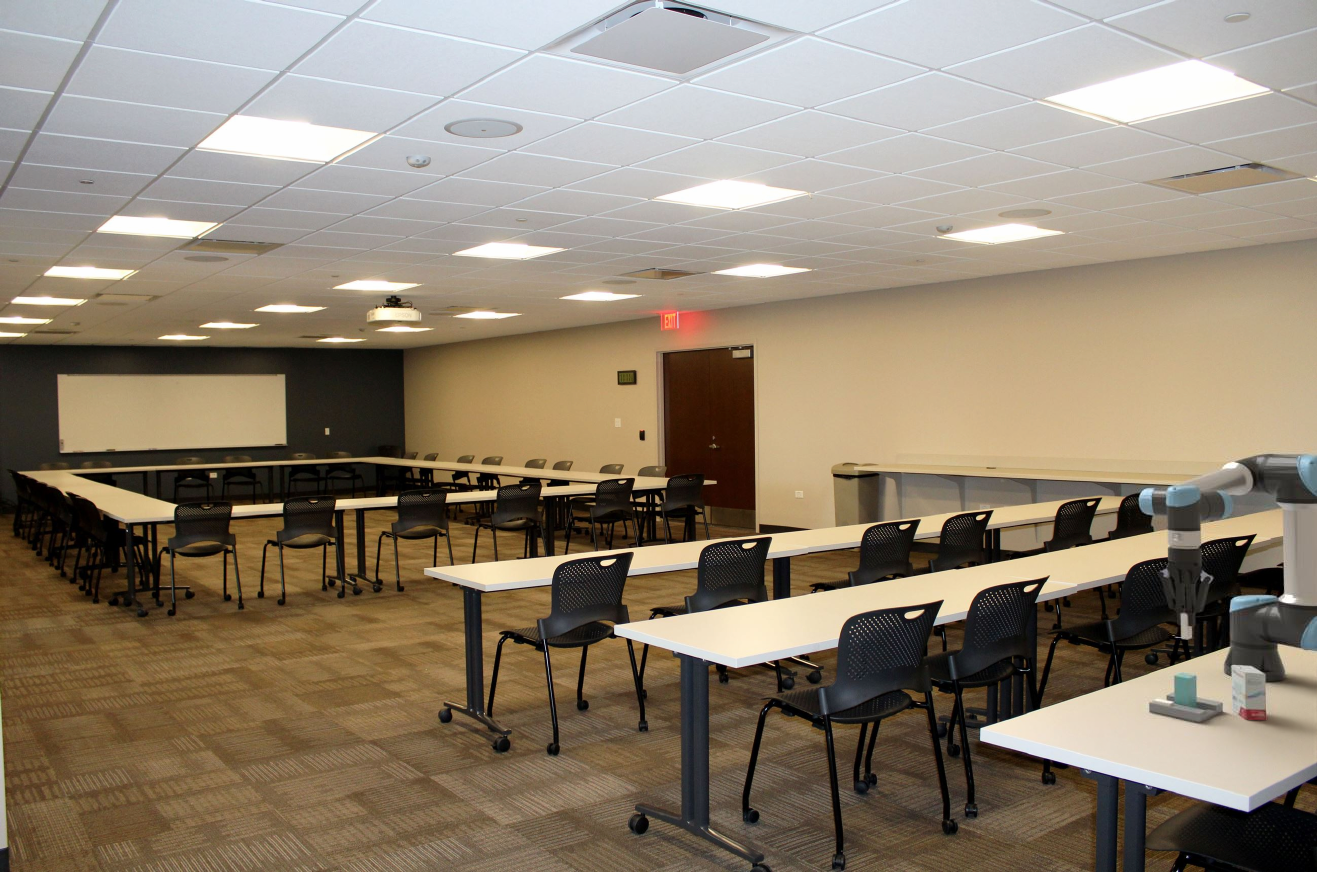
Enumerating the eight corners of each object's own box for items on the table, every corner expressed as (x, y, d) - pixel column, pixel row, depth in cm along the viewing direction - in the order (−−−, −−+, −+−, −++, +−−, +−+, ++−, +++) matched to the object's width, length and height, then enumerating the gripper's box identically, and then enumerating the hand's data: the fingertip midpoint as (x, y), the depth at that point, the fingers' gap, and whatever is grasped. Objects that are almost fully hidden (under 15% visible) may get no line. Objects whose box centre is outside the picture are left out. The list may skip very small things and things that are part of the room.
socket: (1173, 701, 246) (1173, 689, 246) (1222, 711, 237) (1222, 699, 237) (1149, 711, 238) (1149, 699, 238) (1199, 723, 228) (1199, 710, 228)
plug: (1182, 707, 240) (1181, 672, 240) (1196, 710, 237) (1196, 675, 237) (1174, 710, 237) (1174, 675, 237) (1189, 713, 234) (1188, 678, 234)
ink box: (1267, 721, 229) (1266, 673, 229) (1245, 720, 230) (1244, 672, 230) (1252, 710, 238) (1251, 664, 238) (1231, 709, 239) (1230, 664, 239)
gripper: (1151, 545, 240) (1153, 636, 240) (1205, 550, 229) (1208, 645, 230) (1164, 542, 244) (1166, 631, 245) (1218, 546, 234) (1220, 639, 235)
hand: (1186, 637), depth 237 cm, fingers closed
